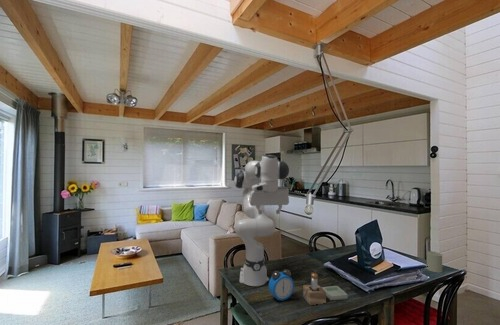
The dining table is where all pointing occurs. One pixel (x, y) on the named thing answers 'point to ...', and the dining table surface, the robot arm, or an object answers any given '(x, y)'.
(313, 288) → the pin
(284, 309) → the dining table surface
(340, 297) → the tray
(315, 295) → the block
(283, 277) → the alarm clock
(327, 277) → the dining table surface
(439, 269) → the can
